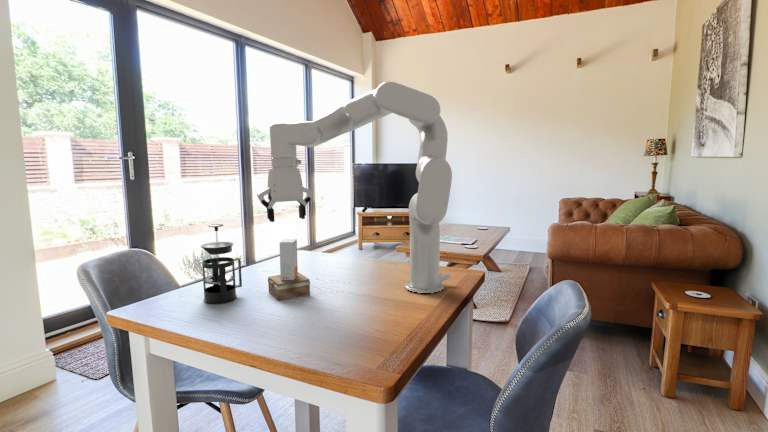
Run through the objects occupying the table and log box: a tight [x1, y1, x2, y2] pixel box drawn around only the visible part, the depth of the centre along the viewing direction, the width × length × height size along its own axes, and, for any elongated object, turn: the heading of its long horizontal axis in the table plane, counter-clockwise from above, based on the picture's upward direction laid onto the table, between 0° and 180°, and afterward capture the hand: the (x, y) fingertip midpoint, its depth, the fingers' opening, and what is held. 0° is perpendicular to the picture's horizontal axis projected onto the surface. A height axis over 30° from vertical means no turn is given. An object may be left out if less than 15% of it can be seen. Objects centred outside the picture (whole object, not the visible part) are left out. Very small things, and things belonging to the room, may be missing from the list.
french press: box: [200, 223, 243, 305], centre depth 128 cm, size 12×9×23 cm
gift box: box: [267, 272, 311, 301], centre depth 134 cm, size 11×10×5 cm
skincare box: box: [279, 238, 299, 280], centre depth 133 cm, size 6×4×12 cm
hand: (287, 219), depth 131 cm, fingers open, 9 cm apart
